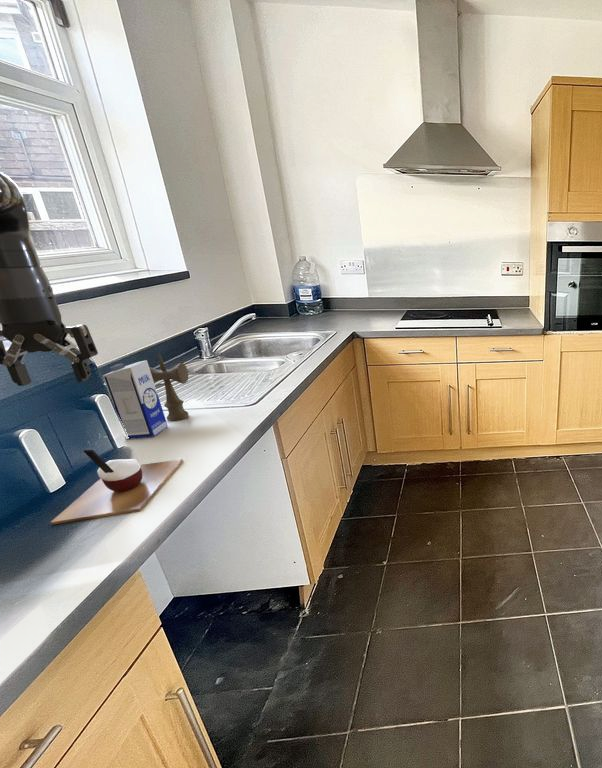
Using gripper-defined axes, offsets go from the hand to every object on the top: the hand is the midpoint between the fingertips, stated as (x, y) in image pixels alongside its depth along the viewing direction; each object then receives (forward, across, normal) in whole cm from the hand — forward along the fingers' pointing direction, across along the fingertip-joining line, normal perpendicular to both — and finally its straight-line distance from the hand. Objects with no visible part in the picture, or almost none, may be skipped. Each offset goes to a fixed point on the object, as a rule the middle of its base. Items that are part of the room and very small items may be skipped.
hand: (55, 382), depth 77 cm
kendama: (+26, -1, +43) cm, 50 cm away
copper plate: (+26, +3, +3) cm, 26 cm away
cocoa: (+25, +4, +2) cm, 26 cm away
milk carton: (+26, -6, +34) cm, 43 cm away
